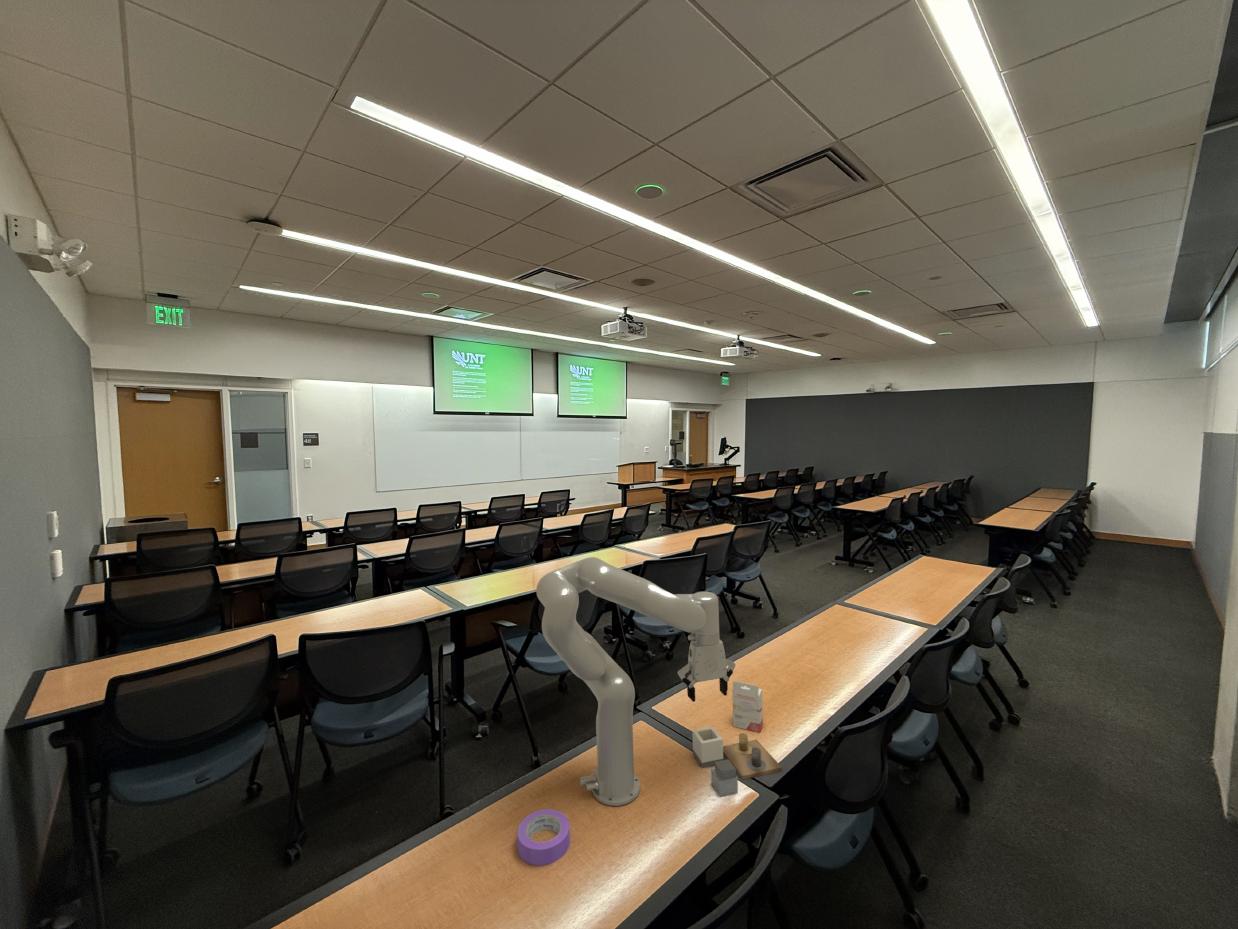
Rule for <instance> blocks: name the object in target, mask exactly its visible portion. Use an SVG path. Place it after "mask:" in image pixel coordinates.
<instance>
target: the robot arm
mask: <svg viewBox="0 0 1238 929" xmlns="http://www.w3.org/2000/svg"><path fill="white" fill-rule="evenodd" d="M584 591H589V592H590V593H591V594H592V595H594V596H596V597H598V598H601V599H604V600H607V601H609V602H612V603H615V604H618V605H620V606H622V607H625V608H628V609H630V610H632V611H635V612H637V613H639V614H641V615H643V616H646V617H649V618H652V619H654V620H656V621H658V622H661V623H664V624H666V625H668V626H670V627H673V628H675V629H678V630H681V631H683V632H686V633H691V634H690V635H688V636H687V639H688V641H690V643H689V650H688V661H687V662H688V663H687V664H685V666H683V667H682V668H681V669H679V670H678V671H677V675H678V676H679V678H680V680H681V681H682V683H683V684H685V685H686V690H687V691H686V692H687V693H686V694H687V697H688V698H689V699H690V700H691V702H692V703H693V702H696V687H695V684H696V683H697V682H698V683H700V682H701V683H702V682H707V681H711V680H713V681H714V680H718V679H719V681H718V682H719V692H720V693H721V694H722V696H725V697H726V696H728V688H729V686H728V682H730V678H731V676H732V675H733V673H734V670H735V668H736V663H735V662H734V661H732V660H730V659H726V658H727V657H726V652H725V647H724V643H723V641H722V640H721V639H720V614H719V609H720V608H719V598H718V596H717V594H715V593H714V592H710V591H697V592H695V593H677V594H673V593H671V592H669V591H667V590H665V589H663V588H662V587H660V586H659V585H657V584H656V583H653V582H652V581H650V580H648V579H646V578H644V577H641V576H638V575H636V574H633V573H631V572H628V571H626V570H624V569H621V568H619V567H617V566H614V565H612V564H610V563H607V562H606V561H604V560H602V559H601V558H599V557H594V556H593V557H592V556H591V557H586V558H585V557H584V558H583V559H580V560H577V561H575V562H572V563H570V564H567V565H565V566H563V567H560V568H557V569H554V570H552V571H549V573H548V572H547V573H546V574H544V575H543V576H542V577H541V578H540V579H539V581H538V583H537V585H536V597H537V599H538V600H539V603H541V604H542V606H543V607H544V611H543V615H542V620H541V631H542V632H541V633H542V634H543V635H542V636H543V637H544V639H545V641H546V642H547V644H548V645H549V646H550V647H551V648H552V650H553V651H554V652H555V653H556V654H557V655H558V656H559V658H560V659H561V660H562V661H563V662H564V663H565V664H566V666H567V667H568V668H569V670H570V671H571V672H572V673H573V674H574V675H575V676H576V677H577V678H579V679H581V680H582V681H583V682H584V683H585V685H586V686H587V687H588V688H589V689H590V691H591V692H592V694H593V695H594V696H595V698H596V700H597V705H598V706H597V712H596V718H595V725H596V726H595V729H596V730H595V733H596V755H597V756H596V757H597V758H596V759H597V760H596V761H597V762H596V763H597V764H596V765H597V768H596V767H595V768H594V773H591V774H590V775H588V776H587V775H586V776H585V775H584V776H582V777H579V785H580V787H583V786H584V787H585V788H586V791H592V794H593V796H594V798H595V799H596V800H597V801H599V803H602V804H603V805H607V806H613V807H616V806H617V807H618V806H622V805H623V806H625V805H626V804H630V803H631V802H632V801H634V800H635V799H636V798H637V797H638V795H639V794H640V791H641V782H640V779H639V777H638V775H636V774H635V767H634V766H635V763H634V761H635V760H634V758H635V757H634V756H635V755H634V728H633V727H634V726H633V725H634V724H633V723H634V721H633V718H634V716H633V713H634V712H633V711H634V703H635V698H636V690H635V686H634V683H633V681H632V679H631V678H630V676H629V675H628V674H627V673H626V672H625V671H624V670H623V668H622V667H621V666H619V665H618V663H617V662H615V660H614V659H613V658H612V657H611V656H610V655H609V654H608V653H607V652H606V650H605V649H603V647H602V646H601V645H600V644H599V642H598V641H597V640H596V639H595V638H594V637H593V636H592V635H591V634H590V633H588V632H587V631H585V630H584V628H583V627H582V626H581V625H580V624H579V623H578V621H577V613H578V608H579V604H580V600H579V593H583V592H584ZM727 666H728V667H727ZM687 673H688V674H689V675H688V676H687V677H686V674H687Z"/></svg>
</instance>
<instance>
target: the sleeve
mask: <svg viewBox="0 0 1238 929" xmlns="http://www.w3.org/2000/svg"><path fill="white" fill-rule="evenodd" d="M723 746H724V739H723V737H722V736H721V735H720V734H719V733H718V731H717V730H716V728H715V727H714V726H708V727H702V728H698V729H697V728H696V729H694V730H693V729H692V755H693V756H694V758H695V759H696V761H697V762H698V764H699V766H700V767H701V769H705V768H709V767H715V762H718V761H723V760H724V755H723Z"/></svg>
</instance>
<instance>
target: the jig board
mask: <svg viewBox="0 0 1238 929" xmlns="http://www.w3.org/2000/svg"><path fill="white" fill-rule="evenodd" d="M748 737H749V736H748V735H747V734H746V733H744V732H741V733H739V735H738V742H737V743H732V744H729V745H728V744H727V745H723V757H724V758H725V760H729V761H730V762H731V763H732V765H733V766H734V767H735V769H736V774H737V775H738V776H739V777H740V779H741V780H748V779H752V778H756V777H760V776H765V775H771V774H774V773H778V772H779V773H780V772H783V767H782V766H781V764H779V762H778V761H777V760H776V759H775V758H774V757H773V755H771V753H769V752H768V750H767V749H766V748H765V747H764V746H763V745H762V744H761V742H759V740H758V739H751V740H748Z"/></svg>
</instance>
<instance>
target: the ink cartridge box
mask: <svg viewBox="0 0 1238 929" xmlns="http://www.w3.org/2000/svg"><path fill="white" fill-rule="evenodd" d="M731 691H732V724H733V726H732V727H735V728H739V729H743V730H747V731H752V732H755V733H761V731H762V729H763V726H764V720H763V719H764V718H763V717H764V714H763V689H762V688H760V687H759V686H758V685H756V684H751V683H746V682H742V681H737V680H733V681H732V690H731Z"/></svg>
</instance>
